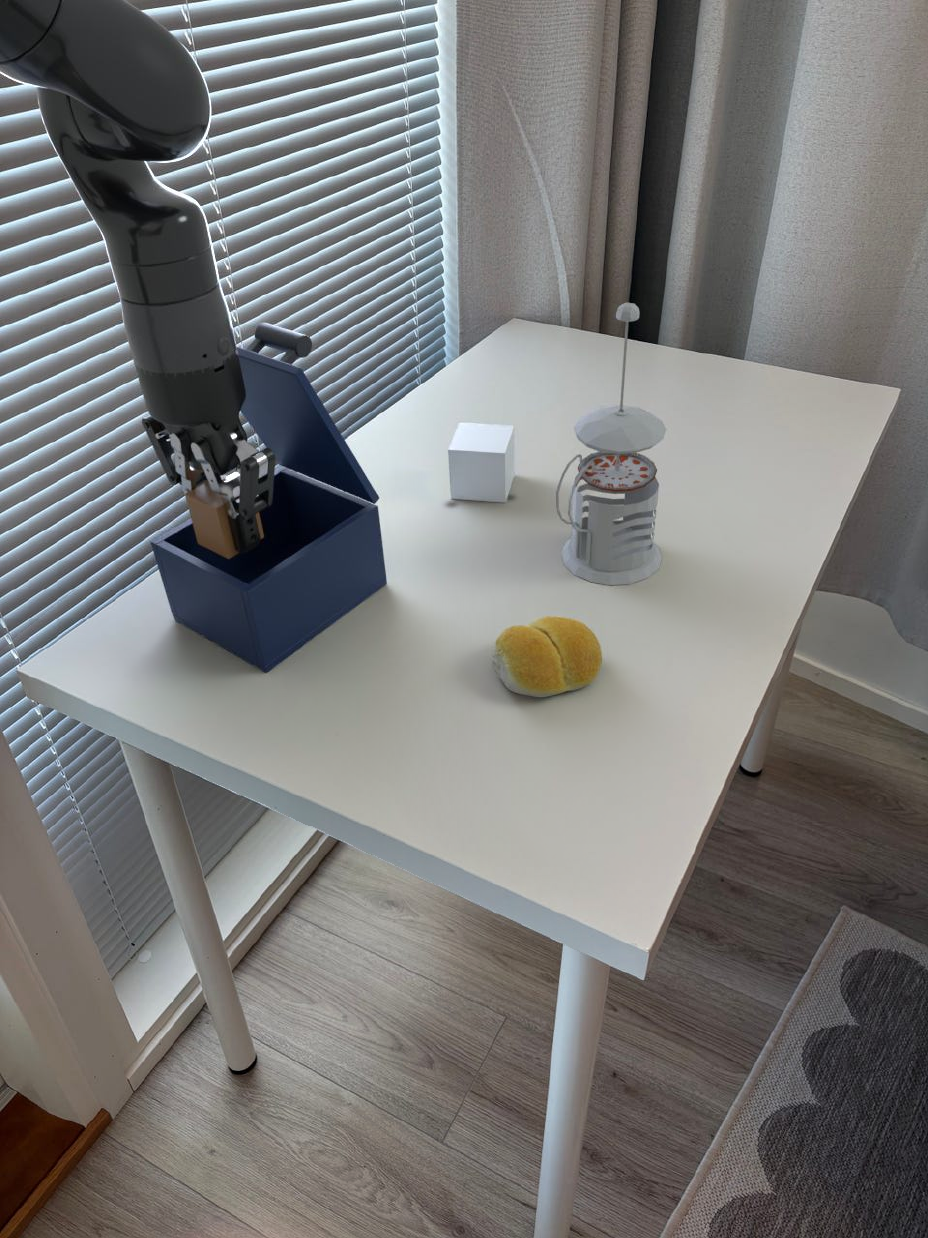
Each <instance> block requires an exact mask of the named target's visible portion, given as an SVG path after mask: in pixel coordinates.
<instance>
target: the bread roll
mask: <svg viewBox="0 0 928 1238" xmlns="http://www.w3.org/2000/svg"><path fill="white" fill-rule="evenodd" d="M491 660H492V665H493V667H494V669H495V671H496V674H497V676H498V678H499V680H500V681H501V682H502V684H503V685H504V686H505V687H506V689H508V690H509V691H511V692H513V693H516V694H518V695H521V696H522V695H524V696H528V697H535V698H546V697H552V696H555V695H558V694H562V693H565V692H568V691H570V692H571V691H576V690H580V689H582V688H584V687H585V688H586V687H587V686H589V685H591V684H592V683H593V682H594V681H595V679H596V678H597V676H598V675H599V671H600V669H601V666H602V661H603V657H602V648H601V644H600V642H599V639H598V638H597V636H596V634H595V633H594V632H593V631H592V629H591V628H589V627H588V626H587V625H586V624H584V623H583V622H581V621H580V620H577V619H574V618H569V617H564V616H549V615H548V616H544V617H542V618H538V619H536V620H534V621H532V622H530V623H529V624H527V625H522V624H520V625H519V624H518V625H517V624H516V625H512V626H509V627H507V628H506V629H505V630H503V632H501V634H499V636H498V637H497V638H496V641H495V644H494V647H493V654H492V659H491Z"/></svg>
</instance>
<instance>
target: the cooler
mask: <svg viewBox="0 0 928 1238" xmlns="http://www.w3.org/2000/svg"><path fill="white" fill-rule="evenodd" d="M379 512H380V511H379V506H378V504H377V505H376V503H375V504H373V503H371V502H368V501H366V500H363V499H361V498H359V497H356V496H354V495H351V494H349V493H347V492H344V491H342V490H339V489H337V488H334V487H332V486H330V485H327V484H325V483H322V482H320V481H317V480H315V479H313V478H310V477H308V476H305V475H303V474H301V473H298V472H296V471H293V470H291V469H288V468H286V467H284V466H281V465H280V466H279V467H278V468H275V472H274V485H273V498H272V505H271V506H269V507H268V508H265V509H263V510H262V511H260V512H259V515H260V520H261V525H262V529H263V534H264V538H262V539H260V543H259V544H258V546H256V547H255V548H253V549H251V550H250V551H248V552H247V553H245V554H242V553H238V554H237V555H235V556H233V557H232V558H230V559H227V558H225V557H223V556H221V555H219V554H217V553H215V552H213V551H211V550H209V549H207V548H205V547H203V546H201V545H199V544H198V542H197V538H196V534H195V530H194V527H193V523H192V519H191V518H189V519H187V520H186V521H183V522H182V523H180V524H178V525H177V526H175V527H173V528H171V529H170V530H168V531H166V532H164V533H163V534H161V535H159V536H157V537H156V538H154V539H152V540H151V541H150V545H151V549H152V552H153V555H154V559H155V562H156V565H157V568H158V572H159V575H160V578H161V582H162V585H163V589H164V591H165V594H166V598H167V601H168V604H169V608H170V611H171V614H172V617H173V620H174V621H176V622H177V623H179V624H181V625H182V626H184V627H186V628H188V629H189V630H191V631H193V632H194V633H197V634H198V635H199V636H202V637H203V638H204V639H207V640H208V641H210V642H212V643H213V644H216V645H217V646H219V647H221V648H222V649H223V650H225V651H227V652H230V653H231V654H233V655H234V656H236V657H238V658H240V659H241V660H243V661H244V662H246V663H248V664H249V665H252V666H254V667H255V668H257V669H259V670H260V671H262V672H264V673H266V674H267V673H268V672H270V671H271V670H273V669H274V668H275V667H276V666H278V665H280V664H281V663H283V662H284V661H285V660H286V659H287V658H289V657H290V656H291V655H293V654H294V653H295V652H297V651H298V650H299V649H301V648H303V646H305V645H306V644H307V643H309V642H310V641H312V640H313V639H314V638H316V637H318V635H320V634H321V633H322V632H324V631H325V630H327V629H328V628H330V627H331V626H332V625H333V624H335V623H336V622H337V621H338V620H340V619H341V618H343V617H344V616H345V615H346V614H348V613H350V611H353V609H355V608H356V607H358V606H359V605H360V604H361V603H363V602H364V601H366V600H367V599H368V598H370V597H371V596H372V595H374V594H375V593H376V592H378V591H379V590H380V589H382V588H383V587H384V586H386V585H387V584H388V581H387V571H386V564H385V555H384V547H383V538H382V529H381V521H380V513H379Z"/></svg>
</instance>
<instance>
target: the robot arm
mask: <svg viewBox="0 0 928 1238" xmlns="http://www.w3.org/2000/svg"><path fill="white" fill-rule="evenodd" d="M0 74H1V75H3V76H4V77H7V78H8V79H11V80H13V81H15V82H17V83H20V84H24V85H28V86H33V87H36V95H37V102H38V103H37V104H38V108H39V111H40V116H41V119H42V122H43V125H44V128H45V130H46V131H45V132H46V133H47V136H48V138H49V141H50V142H51V144H52V146H53V148H54V150H55V152H56V154H57V155H58V158H59V160H60V162H61V163H62V165H63V167H64V169H65V171H66V173H67V174H68V176H69V178H70V180H71V182H72V184H73V186H74V187H75V190H76V192H77V193H78V195H79V197H80V198H81V201H82V202H83V205H84V207H85V208H86V210H87V211H88V213H89V215H90V217H91V219H92V220H93V222H94V223H95V225H96V227H97V228H98V229H99V231H100V234H101V235H102V238H103V240H104V245H105V247H106V248H105V249H106V254H107V256H108V260H109V263H110V267H111V270H112V274H113V279H114V281H115V285H116V288H117V293H118V296H119V300H120V306H121V315H122V321H123V327H124V330H125V335H126V339H127V342H128V346H129V349H130V354H131V358H132V361H133V364H134V368H135V370H136V375H137V378H138V382H139V385H140V390H141V393H142V395H143V396H142V397H143V401H144V402H145V407H146V410H147V412H148V414H149V415H146V416H145V417H143V418H142V419H141V423H142V427H143V429H144V431H145V434H146V435H147V437H148V439H149V442H150V444H151V446H152V448H153V451H154V452H155V454H156V456H157V458H158V461H159V462H160V465H161V467H162V469H163V471H164V473H165V477H166V478H167V480H168V481H169V483H170V484H171V485H173V486H177V485H178V484H179V485H180V486H181V490H182V492H183V494H184V495H185V494H186V493H187V492H189V491H191V490H193V489H195V488H197V487H198V486H200V485H202V484H204V483H206V482H207V481H208V482H209V485H210V487H211V489H212V491H213V492H215V493H219V494H220V497H221V499H222V502H223V504H224V506H225V509H226V511H227V513H228V516H227V517H228V522H229V526H230V530H231V534H232V538H233V543H234V547H235V550H236V551H238V552H240V553H242V554H245V553H247V552H248V551H250V550H251V549H253V548H255V547H256V546H258V544H259V543H260V539H261V537H260V532H259V528H258V523H257V518H256V514H257V513H258V512H260V511H262V510H263V509H265V508H268V507H269V506H271V505H272V498H273V485H274V472H275V470H276V460H275V454H274V453H273V451H272V450H271V449H270V448H266V447H264V448H263V449H260V450H259V449H257V448H256V447H255V446H253V444H251V443H250V442H248V435H247V432H246V430H245V428H244V426H243V424H242V422H241V419H240V413H241V411H240V410H241V407H242V405H243V403H244V401H245V398H246V390H245V385H244V380H243V375H242V371H241V366H240V361H239V356H238V351H237V347H238V346H237V342H236V337H235V332H234V328H233V323H232V317H231V314H230V310H229V306H228V303H227V300H226V296H225V294H224V292H223V287H222V285H221V281H220V277H219V271H218V267H217V263H216V262H217V261H216V257H215V252H214V247H213V243H212V238H211V234H210V230H209V225H208V221H207V218H206V215H205V212H204V210H203V208H202V207H201V205H200V204H199V203H198V201H197V200H195V199H194V198H192V197H191V196H188V195H186V194H184V193H182V192H179V191H177V190H175V189H172V188H170V187H168V186H166V185H165V184H163V183H162V182H161V181H159V180H158V179H157V178H156V177H155V175H154V173H153V172H152V170H151V168H150V167H149V165H148V163H149V162H150V163H172V162H173V163H174V162H178V161H182V160H184V159H186V158H188V157H190V156H191V155H193V154H194V153H195V152H196V151H197V150H198V149H199V148H200V147H202V144H203V143H204V141H205V140H206V138H207V135H208V133H209V130H210V125H211V119H212V103H211V98H210V94H209V93H210V92H209V89H208V85H207V83H206V80H205V77H204V75H203V73H202V71H201V69H200V67H199V65H198V64H197V62H196V60H195V58H194V57H193V55H192V54H191V53H190V51H189V49H187V48H186V47H185V45H184V44H183V43H182V42H181V40H180V39H178V38H177V37H176V36H175V35H174V34H173V33H172V32H171V31H169V30H168V28H166V27H165V26H164V25H162V24H161V23H159V22H158V21H157V20H155V19H154V18H153V17H151V16H150V15H149V14H148V13H145V12H144V11H142V10H141V9H140V8H138V7H136V6H135V5H133V4H132V3H130V2H128V1H127V0H0ZM147 162H148V163H147ZM173 455H174V460H173V459H172V456H173ZM234 470H235V471H234ZM232 471H233V473H231V474H229V475H227V474H228V473H230V472H232ZM221 475H227V477H225V478H224V479H221ZM237 486H239V487H240V496H239V499H237V500H235V497H234V495H233V489H234V488H236V487H237Z"/></svg>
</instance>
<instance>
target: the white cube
mask: <svg viewBox="0 0 928 1238" xmlns="http://www.w3.org/2000/svg"><path fill="white" fill-rule="evenodd" d="M447 454H448V455H447V457H448V472H449V473H448V475H449V491H450V499H451V500H460V501H461V500H463V501H476V502H488V503H489V502H490V503H502V504H503V503H504V504H506V503H507V500H508V497H509V493H510V490H511V488H512V484H513V481H514V478H515V474H516V473H515V472H516V471H515V467H516V466H515V465H516V464H515V463H516V461H515V459H516V458H515V425H511V424H510V425H509V424H491V423H476V422H475V423H474V422H461V421H460V422H459V423H458V425H457V428H456V431H455V432H454V434H453V437H452V440H451V442H450V444H449V446H448V449H447Z"/></svg>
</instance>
